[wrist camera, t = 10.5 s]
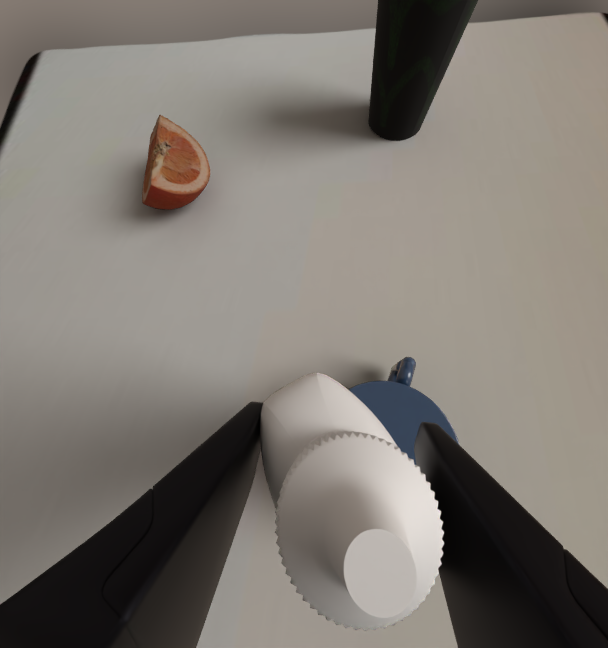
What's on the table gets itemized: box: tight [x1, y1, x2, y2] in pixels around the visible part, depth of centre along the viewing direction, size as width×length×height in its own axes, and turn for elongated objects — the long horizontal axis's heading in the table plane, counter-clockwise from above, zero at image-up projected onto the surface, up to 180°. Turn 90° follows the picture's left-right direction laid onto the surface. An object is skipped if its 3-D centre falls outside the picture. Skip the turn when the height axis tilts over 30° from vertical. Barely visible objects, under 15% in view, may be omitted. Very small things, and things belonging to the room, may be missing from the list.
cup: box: [369, 0, 478, 140], centre depth 25 cm, size 8×8×12 cm
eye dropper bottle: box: [260, 373, 444, 631], centre depth 8 cm, size 4×6×12 cm
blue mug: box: [348, 357, 459, 465], centre depth 18 cm, size 10×8×5 cm
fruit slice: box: [142, 115, 210, 209], centre depth 26 cm, size 8×7×5 cm
